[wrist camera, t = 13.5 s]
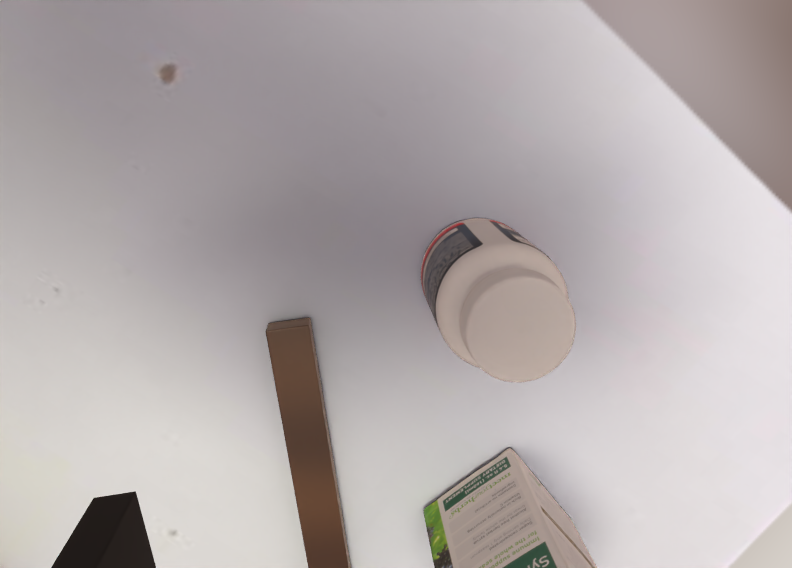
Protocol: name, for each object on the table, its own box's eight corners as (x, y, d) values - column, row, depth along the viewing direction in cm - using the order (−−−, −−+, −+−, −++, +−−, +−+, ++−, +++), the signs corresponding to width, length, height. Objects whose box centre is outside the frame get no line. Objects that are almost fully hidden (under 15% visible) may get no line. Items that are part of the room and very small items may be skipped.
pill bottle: (423, 329, 34) (449, 407, 26) (415, 221, 33) (440, 266, 24) (532, 318, 35) (593, 393, 26) (529, 212, 33) (593, 252, 25)
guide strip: (268, 323, 34) (265, 331, 33) (310, 317, 34) (309, 324, 33) (340, 727, 40) (340, 745, 39) (376, 721, 40) (377, 740, 39)
